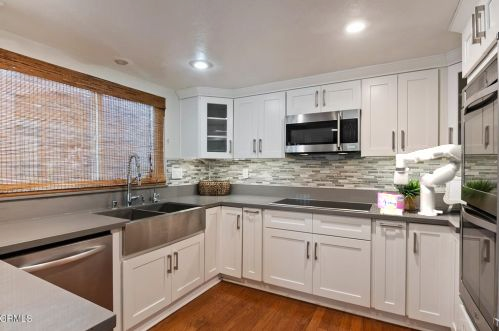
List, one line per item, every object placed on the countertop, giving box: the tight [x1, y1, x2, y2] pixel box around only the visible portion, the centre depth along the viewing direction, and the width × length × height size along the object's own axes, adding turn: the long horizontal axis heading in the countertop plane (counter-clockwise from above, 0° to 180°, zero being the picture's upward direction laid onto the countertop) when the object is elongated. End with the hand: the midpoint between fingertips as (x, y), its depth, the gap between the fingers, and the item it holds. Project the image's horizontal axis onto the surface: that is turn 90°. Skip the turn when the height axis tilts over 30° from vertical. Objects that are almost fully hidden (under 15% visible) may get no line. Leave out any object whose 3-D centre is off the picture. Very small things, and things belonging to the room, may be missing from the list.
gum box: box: [377, 191, 405, 212], centre depth 232 cm, size 24×8×14 cm, turn 13°
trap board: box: [379, 207, 403, 216], centre depth 215 cm, size 15×12×3 cm
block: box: [388, 204, 394, 210], centre depth 212 cm, size 4×4×4 cm
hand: (401, 193), depth 208 cm, fingers closed
